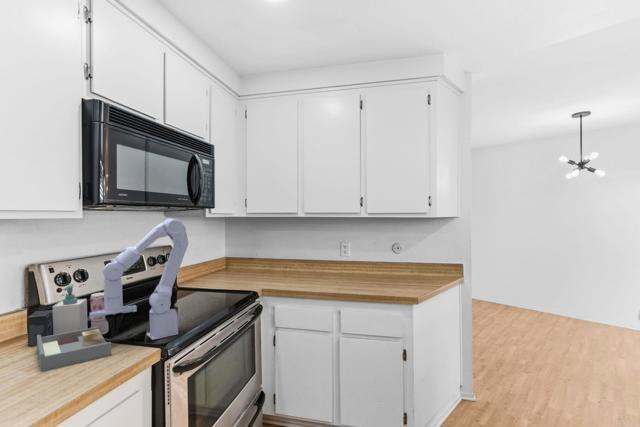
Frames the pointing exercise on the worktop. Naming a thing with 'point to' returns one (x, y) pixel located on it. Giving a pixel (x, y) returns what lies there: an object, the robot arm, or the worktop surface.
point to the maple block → (91, 337)
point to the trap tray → (68, 349)
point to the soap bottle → (69, 313)
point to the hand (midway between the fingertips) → (114, 335)
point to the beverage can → (98, 305)
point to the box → (39, 326)
